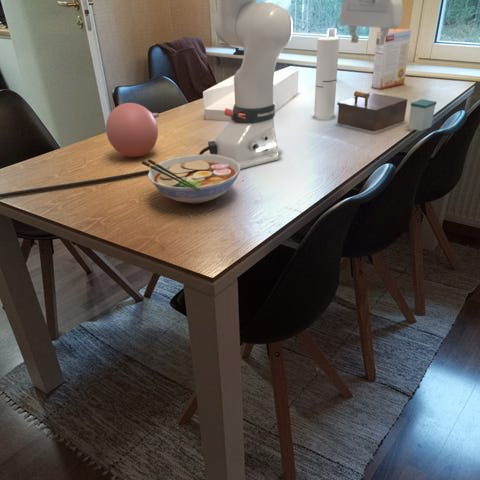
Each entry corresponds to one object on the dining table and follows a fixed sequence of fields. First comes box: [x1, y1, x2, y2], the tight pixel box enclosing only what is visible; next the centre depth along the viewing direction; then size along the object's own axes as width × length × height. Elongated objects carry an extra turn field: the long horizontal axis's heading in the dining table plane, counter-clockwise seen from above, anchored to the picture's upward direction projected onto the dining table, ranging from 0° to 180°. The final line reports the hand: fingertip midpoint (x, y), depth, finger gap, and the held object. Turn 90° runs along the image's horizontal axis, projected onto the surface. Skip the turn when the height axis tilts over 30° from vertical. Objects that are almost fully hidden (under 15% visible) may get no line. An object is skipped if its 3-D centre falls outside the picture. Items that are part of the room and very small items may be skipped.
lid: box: [336, 90, 408, 113], centre depth 162 cm, size 17×16×5 cm
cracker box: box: [371, 27, 412, 90], centre depth 204 cm, size 14×6×21 cm, turn 121°
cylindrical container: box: [313, 36, 340, 119], centre depth 169 cm, size 7×7×25 cm
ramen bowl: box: [141, 153, 241, 205], centre depth 121 cm, size 25×23×8 cm
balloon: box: [105, 102, 160, 158], centre depth 149 cm, size 15×20×15 cm
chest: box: [337, 101, 408, 133], centre depth 165 cm, size 17×16×7 cm
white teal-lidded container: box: [407, 98, 437, 132], centre depth 157 cm, size 6×5×8 cm
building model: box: [202, 69, 299, 122], centre depth 192 cm, size 45×22×10 cm, turn 157°
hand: (366, 43), depth 149 cm, fingers open, 8 cm apart
